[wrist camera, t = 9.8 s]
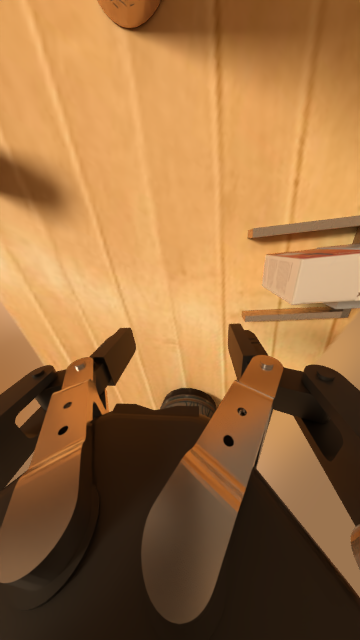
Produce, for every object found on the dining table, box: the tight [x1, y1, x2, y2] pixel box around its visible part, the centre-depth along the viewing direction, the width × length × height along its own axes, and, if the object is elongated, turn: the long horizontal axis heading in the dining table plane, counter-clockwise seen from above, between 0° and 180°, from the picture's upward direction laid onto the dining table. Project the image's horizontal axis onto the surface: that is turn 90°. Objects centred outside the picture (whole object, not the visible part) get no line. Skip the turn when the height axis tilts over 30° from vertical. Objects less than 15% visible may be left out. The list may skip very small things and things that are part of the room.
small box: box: [262, 249, 360, 305], centre depth 22 cm, size 8×6×10 cm
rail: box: [242, 216, 360, 322], centre depth 26 cm, size 15×17×2 cm
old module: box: [317, 244, 360, 309], centre depth 23 cm, size 8×5×8 cm, turn 6°
